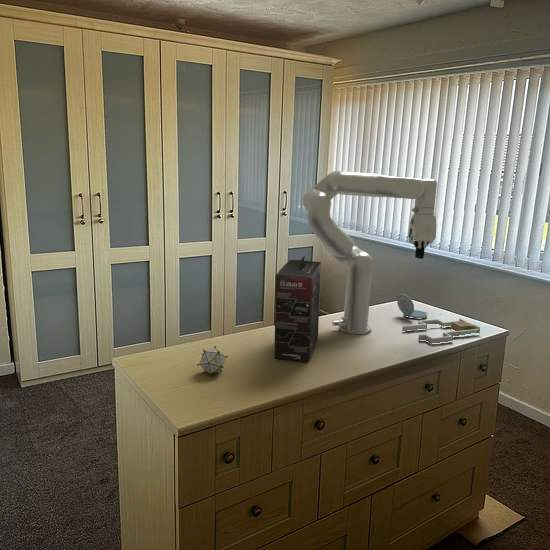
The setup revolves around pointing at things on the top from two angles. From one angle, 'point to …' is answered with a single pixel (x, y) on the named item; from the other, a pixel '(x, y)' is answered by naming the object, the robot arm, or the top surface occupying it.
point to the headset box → (297, 310)
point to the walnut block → (461, 326)
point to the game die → (212, 360)
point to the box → (446, 335)
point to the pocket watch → (409, 307)
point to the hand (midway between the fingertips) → (419, 257)
